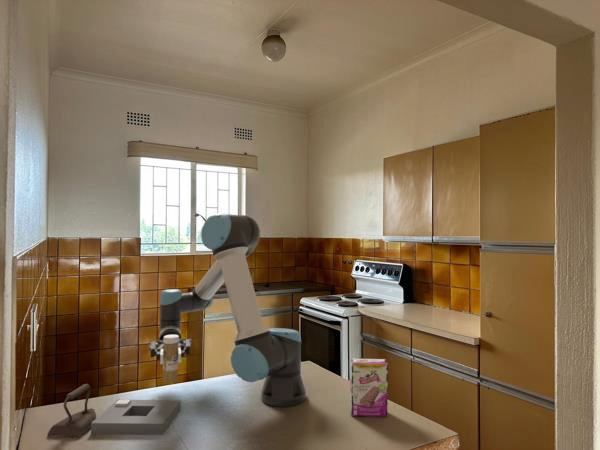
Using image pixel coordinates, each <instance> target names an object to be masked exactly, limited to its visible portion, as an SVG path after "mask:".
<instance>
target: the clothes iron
mask: <svg viewBox="0 0 600 450" xmlns="http://www.w3.org/2000/svg"><path fill="white" fill-rule="evenodd" d="M86 391H87V393H86V395H85V396H86V397H85V402H84V410H81V411H78V412H76V413H73V414H71V411H69V409H68V407H67V403H68V401H73V400H75V399H76V398H77V397H79V396H80V395H82V394H83V393H85V392H86ZM90 395H91V386H90V385H89V384H88V383H85V384H82V385H81V386H79V387H78V388H76V389H75V390H73V391H71V392H70V393H67V395H66V396H65V397H66V398H65V399H64V401H63V409H64V411H65V413H66V415H67V417H66V418H63V419H62V420H60V421H59V422H57V423H55V424H53V425H52V426H51V427H50V429H49V430H48V432H47V437H49V436H57V437H56V438H67V437H70V438H72V439H81V438H82V437H83V436H85V435H86V434H88V432H89V431H91V423H92V422H93V421H94V420H95V419H96V418H97V414H96V411H95V409H94V408H88V402H89V398H90ZM58 436H59V437H58Z"/></svg>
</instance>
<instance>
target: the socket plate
mask: <svg viewBox="0 0 600 450" xmlns="http://www.w3.org/2000/svg"><path fill="white" fill-rule="evenodd" d="M181 404H182V401H181V399H117V400H116V401H115V402H113V403H112V404H111V405H109V407H107V408H106V409H105V410H104V411H103V412H102V413H101V414H100V415H99V416H96V419H95V420H94V421H93V422H92V423H91V430H90V435H151V436H154V435H156V436H157V435H159V436H163V435H164V434H165V433H166V431H167V430H168V428H170V425H171V424H172V423H173V421H174V420H175V418H176V417H177V415H178V414H179V413H180V411H181V410H182V407H181V406H182V405H181Z"/></svg>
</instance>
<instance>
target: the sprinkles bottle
mask: <svg viewBox="0 0 600 450" xmlns="http://www.w3.org/2000/svg"><path fill="white" fill-rule="evenodd" d="M178 342H179V336H178V335H166V336H164V338H163V343H164V353H163V364H162V381H163V382H165V383H173V382H176V381H178V380H179V376H178V372H179V370H178V369H179V363H178Z"/></svg>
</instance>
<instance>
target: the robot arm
mask: <svg viewBox="0 0 600 450" xmlns="http://www.w3.org/2000/svg"><path fill="white" fill-rule="evenodd" d="M200 237H201V242H202V244H203V246H204V247H205V248H206V249H208V250H211V252H212V256H213V258H214V259H215V261H214V262H213V264H212V265H211V266H210V268H209V269H208V270H207V272H206V273H205V274H204V275H203V277H202V278H201V280H200V281H199V282H198V283H197V285H196V286H195V287H194V288H193V290H192V291H191V292H182V290H181V289H178V288H177V289H176V288H175V289H172V288H171V289H164V290H162V291H161V293H160V299H159V309H160V310H159V313H160V314H159V315H160V317H159V335H158V338H159V339H158V341H157V342H156V341H153V340H150V341H149V342H148V345H149V346H148V350H149V351H150V358H154V357H156V360H157V361H159V360H160V361H159V362H160V363H159V364H160V365H163V353H164V343H163V338H164V336H166V335H178V336H179V342H178V364H181V363H182V358H185V355H187V356H189V355H190V354H191V347H192V338H188V339H185V340H184V339H182V331H181V330H182V314H186V313H192V312H198V311H203V310H204V311H205V310H206V309H209V308H210V307H212V305H213V301H214V298H213V297H214V295H215V294H216V292H218V290H219V289H220V288H221V286H222V285H223V284H224V285H225V288H226V292H227V297H228V300H229V305H230V309H231V312H232V317H233V321H234V325H235V326H234V327H235V329H236V336H235V338H234V340H233V341H234V345H235V347H234V348H233V350H232V351H231V355H230V364H231V367H232V369H233V371H234V373H235V374H236V376H237V377H238V378H241V380H243V382H244V381H245V382H248V383H253V382H258V381H262V380H264V382H263V385H262V388H261V392H260V397H261V398H260V399H261V401H262V402H263V403H265V404H267V405H269V406H274V407H293V406H297V405H300V404H301V403H303V402H305V400H306V399H305V398H306V396H307V395H306V394H307V393H306V387H305V385H304V381H303V377H302V375H301V374H302V373H301V372H302V371H301V368H302V364H301V363H302V362H301V361H302V359H301V358H302V355H301V354H302V338H301V333H300V332H299V331H298V330H295V329H293V328H292V329H291V328H285V327H284V328H281V327H271V328H268V327H266V326H265V325H264V321H263V318H262V314H261V310H260V306H259V303H258V300H257V295H256V292H255V287H254V284H253V280H252V276H251V272H250V268H249V264H248V260H247V257H249V256H250V255H251V254H252V253H253V252H254V250H255V249H256V247H257V245H258V243H259V242H260V238H261V228H260V226H259V224H258V222H257V221H256V220H255V219H254V218H253V217H251V216H249V215H245V214H231V213H228V214H227V213H215V214H212V215H210V216H208V218H206V220H205V221H204V223H203V226H202V228H201V232H200ZM156 348H157V349H156Z"/></svg>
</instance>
